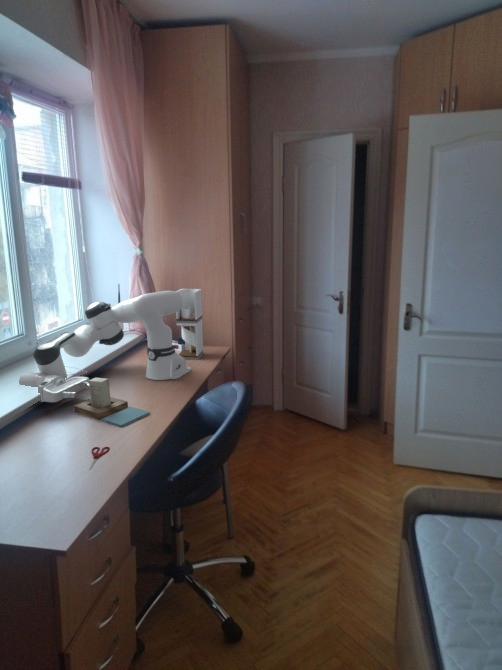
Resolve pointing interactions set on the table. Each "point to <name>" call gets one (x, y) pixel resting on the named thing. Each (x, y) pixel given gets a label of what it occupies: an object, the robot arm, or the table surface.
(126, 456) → the table surface
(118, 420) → the teal mat
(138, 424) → the table surface
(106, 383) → the skincare box
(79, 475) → the table surface
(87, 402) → the pocket holder
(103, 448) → the scissors
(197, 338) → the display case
